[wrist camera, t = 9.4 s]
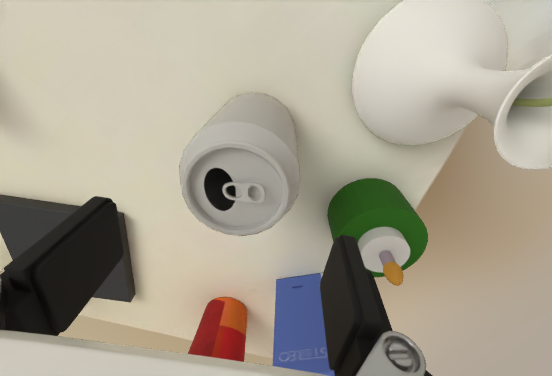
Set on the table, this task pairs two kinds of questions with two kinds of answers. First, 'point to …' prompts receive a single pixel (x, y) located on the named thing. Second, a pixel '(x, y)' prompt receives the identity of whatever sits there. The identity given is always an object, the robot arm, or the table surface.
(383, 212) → the candle
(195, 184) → the can
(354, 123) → the table surface
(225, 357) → the coffee cup
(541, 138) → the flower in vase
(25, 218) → the dark grey flat block
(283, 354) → the walkman
